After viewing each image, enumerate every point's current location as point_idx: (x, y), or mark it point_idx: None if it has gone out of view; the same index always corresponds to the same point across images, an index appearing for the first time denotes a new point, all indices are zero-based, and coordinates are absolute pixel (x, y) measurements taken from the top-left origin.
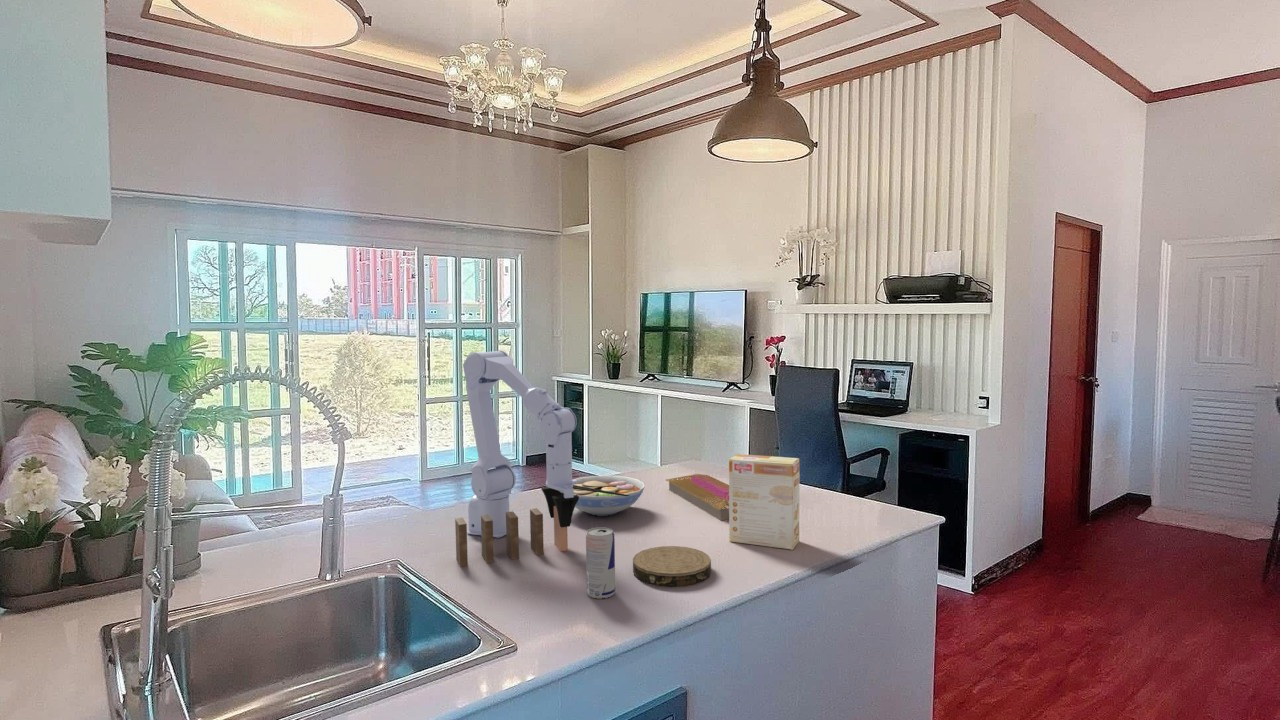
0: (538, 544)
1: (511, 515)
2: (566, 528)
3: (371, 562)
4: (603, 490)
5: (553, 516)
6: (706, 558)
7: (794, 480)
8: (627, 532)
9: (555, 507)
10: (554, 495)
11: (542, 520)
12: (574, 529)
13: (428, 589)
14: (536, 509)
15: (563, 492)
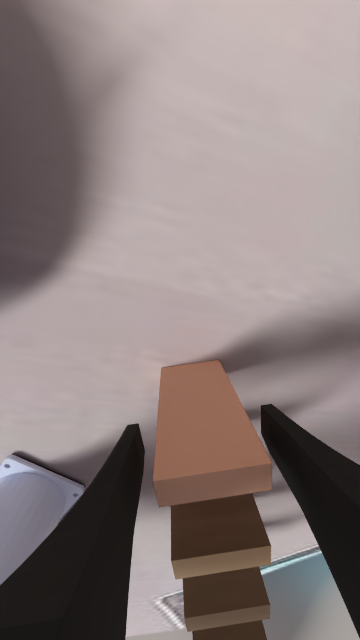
0: None
1: (239, 618)
2: (239, 401)
3: (163, 618)
4: None
5: (142, 449)
6: None
7: None
8: (103, 124)
9: (187, 502)
10: (113, 580)
11: (257, 511)
12: (35, 313)
13: (305, 558)
14: (190, 562)
15: None
